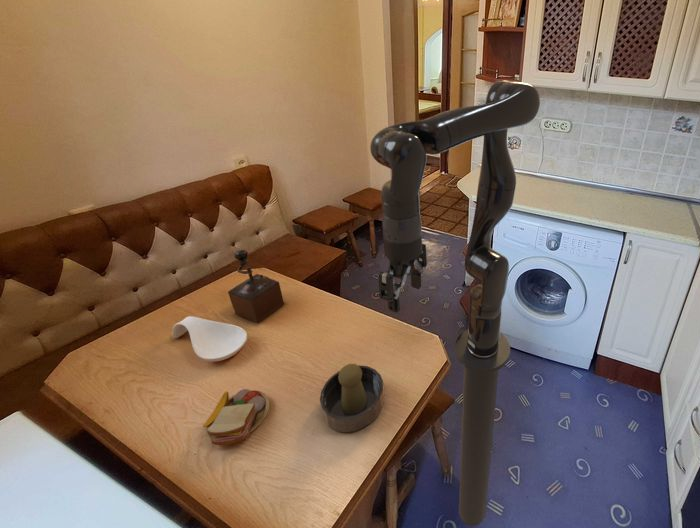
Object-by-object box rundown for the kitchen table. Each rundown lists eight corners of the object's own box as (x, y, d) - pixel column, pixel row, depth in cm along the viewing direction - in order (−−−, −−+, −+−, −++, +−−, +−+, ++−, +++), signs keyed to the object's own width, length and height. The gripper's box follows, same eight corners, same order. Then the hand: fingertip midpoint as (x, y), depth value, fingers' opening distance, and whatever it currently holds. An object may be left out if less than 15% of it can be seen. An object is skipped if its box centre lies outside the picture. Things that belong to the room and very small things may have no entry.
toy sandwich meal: (280, 393, 88) (276, 380, 86) (250, 450, 76) (245, 436, 74) (229, 393, 88) (224, 379, 86) (190, 449, 75) (184, 435, 73)
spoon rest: (258, 342, 103) (253, 323, 100) (220, 374, 92) (213, 354, 89) (200, 321, 110) (193, 302, 107) (159, 348, 99) (150, 329, 96)
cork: (368, 409, 84) (364, 377, 80) (341, 417, 82) (335, 384, 78) (366, 388, 89) (361, 356, 85) (340, 395, 87) (335, 363, 83)
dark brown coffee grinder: (287, 303, 118) (276, 257, 111) (257, 324, 109) (244, 276, 101) (253, 290, 123) (241, 246, 116) (223, 310, 114) (207, 263, 107)
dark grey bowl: (350, 371, 94) (348, 357, 92) (395, 391, 89) (394, 377, 87) (309, 418, 82) (306, 403, 80) (358, 444, 77) (356, 429, 75)
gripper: (398, 254, 62) (402, 325, 69) (436, 221, 74) (437, 284, 81) (363, 244, 65) (370, 313, 72) (405, 214, 77) (408, 276, 84)
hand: (405, 298), depth 76 cm, fingers open, 8 cm apart
